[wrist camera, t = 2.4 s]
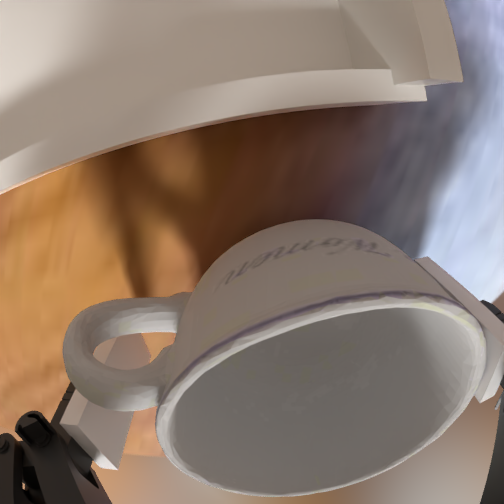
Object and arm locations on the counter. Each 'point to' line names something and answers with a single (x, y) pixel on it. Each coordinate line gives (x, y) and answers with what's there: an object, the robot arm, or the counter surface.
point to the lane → (199, 68)
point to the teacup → (292, 361)
